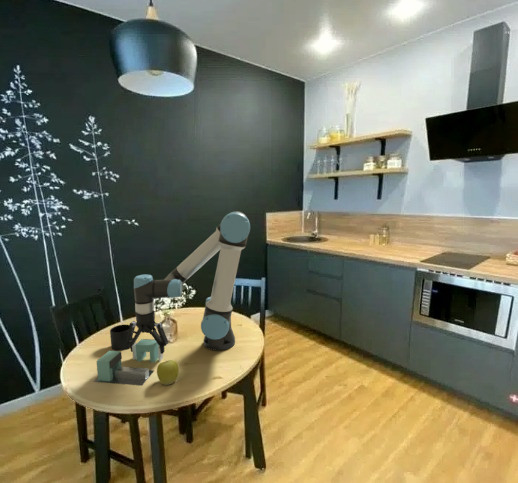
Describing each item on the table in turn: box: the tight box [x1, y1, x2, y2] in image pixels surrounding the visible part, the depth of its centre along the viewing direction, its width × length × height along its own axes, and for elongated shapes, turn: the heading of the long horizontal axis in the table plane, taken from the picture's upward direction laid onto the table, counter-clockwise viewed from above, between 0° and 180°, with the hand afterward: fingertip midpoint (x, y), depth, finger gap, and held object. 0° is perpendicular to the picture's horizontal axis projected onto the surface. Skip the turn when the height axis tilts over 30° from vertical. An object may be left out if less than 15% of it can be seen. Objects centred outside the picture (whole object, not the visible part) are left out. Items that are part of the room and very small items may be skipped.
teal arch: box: [135, 338, 159, 363], centre depth 135 cm, size 6×8×8 cm
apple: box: [156, 359, 180, 386], centre depth 118 cm, size 8×8×10 cm
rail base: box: [92, 366, 155, 386], centre depth 122 cm, size 20×10×3 cm, turn 82°
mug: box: [109, 324, 137, 351], centre depth 147 cm, size 9×12×9 cm
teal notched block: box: [96, 350, 123, 381], centre depth 122 cm, size 6×8×8 cm
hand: (148, 359), depth 135 cm, fingers open, 11 cm apart
